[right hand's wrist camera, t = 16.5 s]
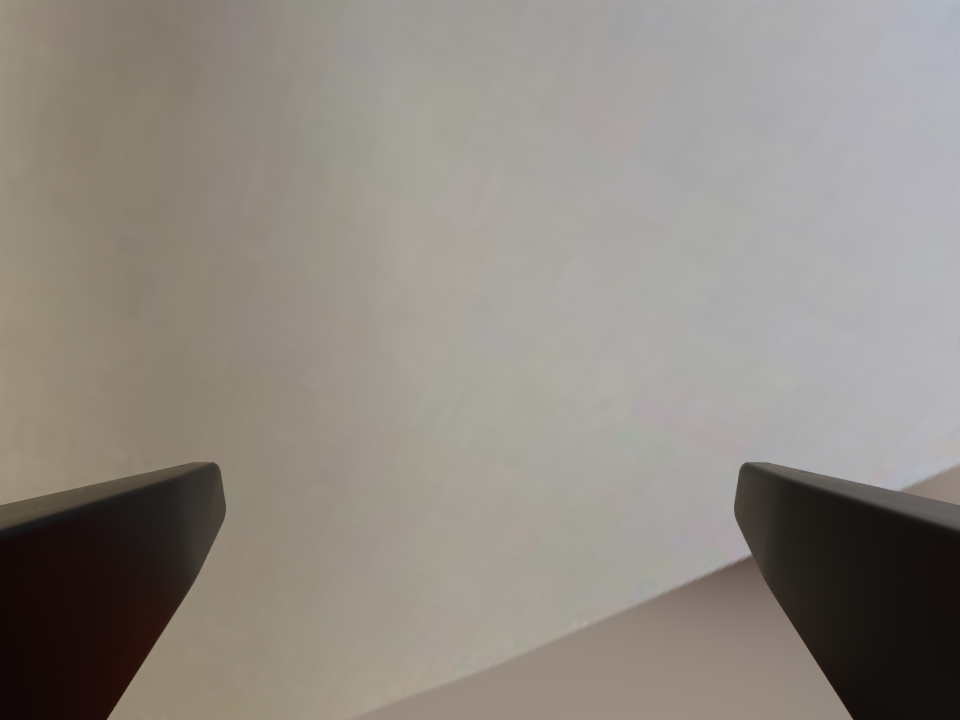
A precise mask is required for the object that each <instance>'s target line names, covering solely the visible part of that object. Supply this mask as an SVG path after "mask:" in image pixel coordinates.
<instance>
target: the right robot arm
mask: <svg viewBox="0 0 960 720" xmlns="http://www.w3.org/2000/svg"><path fill="white" fill-rule="evenodd" d="M225 512H226V503H225V497H224V490H223V484H222V477H221V471H220V468H219V466H218V465H217V464H216V463H214V462H194V463H189V464H184V465H180V466H175V467H171V468H166V469H162V470H157V471H153V472H148V473H144V474H139V475H135V476H130V477H126V478H121V479H117V480H112V481H108V482H103V483H99V484H94V485H90V486H85V487H81V488H76V489H72V490H67V491H63V492H59V493H54V494H50V495H45V496H41V497H36V498H32V499H27V500H23V501H18V502H14V503H9V504H5V505H0V720H107V718H108V717H109V715H110V714H111V712H112V711H113V709H114V707H115V706H116V704H117V703H118V701H119V700H120V698H121V696H122V695H123V693H124V692H125V690H126V689H127V687H128V686H129V684H130V682H131V681H132V679H133V678H134V676H135V675H136V673H137V671H138V670H139V668H140V667H141V665H142V664H143V662H144V660H145V659H146V657H147V656H148V654H149V653H150V651H151V649H152V648H153V646H154V645H155V643H156V642H157V640H158V638H159V637H160V635H161V634H162V632H163V631H164V629H165V628H166V626H167V624H168V623H169V621H170V620H171V618H172V617H173V615H174V613H175V612H176V610H177V609H178V607H179V606H180V604H181V602H182V601H183V599H184V598H185V596H186V595H187V593H188V591H189V590H190V588H191V586H192V585H193V583H194V581H195V580H196V578H197V576H198V574H199V572H200V570H201V568H202V566H203V563H204V561H205V559H206V557H207V555H208V553H209V551H210V549H211V546H212V544H213V542H214V540H215V538H216V536H217V534H218V532H219V529H220V527H221V525H222V523H223V521H224V517H225ZM734 512H735V517H736V521H737V523H738V525H739V527H740V529H741V532H742V534H743V536H744V538H745V540H746V542H747V544H748V546H749V549H750V551H751V553H752V555H753V557H754V559H755V561H756V563H757V565H758V568H759V570H760V572H761V574H762V576H763V578H764V580H765V581H766V583H767V585H768V586H769V588H770V590H771V591H772V593H773V595H774V596H775V598H776V599H777V601H778V602H779V604H780V605H781V607H782V609H783V610H784V612H785V613H786V615H787V616H788V618H789V620H790V621H791V623H792V624H793V626H794V627H795V629H796V631H797V632H798V634H799V635H800V637H801V638H802V640H803V641H804V643H805V645H806V646H807V648H808V649H809V651H810V653H811V654H812V656H813V657H814V659H815V660H816V662H817V663H818V665H819V667H820V668H821V670H822V671H823V673H824V674H825V676H826V678H827V679H828V681H829V682H830V684H831V685H832V687H833V689H834V690H835V692H836V693H837V695H838V696H839V698H840V699H841V701H842V703H843V704H844V706H845V707H846V709H847V711H848V712H849V714H850V715H851V717H852V718H853V720H960V505H955V504H951V503H947V502H942V501H938V500H933V499H929V498H924V497H920V496H915V495H911V494H906V493H902V492H897V491H893V490H888V489H884V488H879V487H875V486H870V485H866V484H861V483H857V482H852V481H848V480H843V479H839V478H834V477H830V476H825V475H821V474H816V473H812V472H807V471H803V470H798V469H794V468H789V467H785V466H780V465H776V464H771V463H766V462H746V463H744V464H743V465H742V466H741V468H740V471H739V477H738V484H737V490H736V497H735V503H734Z"/></svg>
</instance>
